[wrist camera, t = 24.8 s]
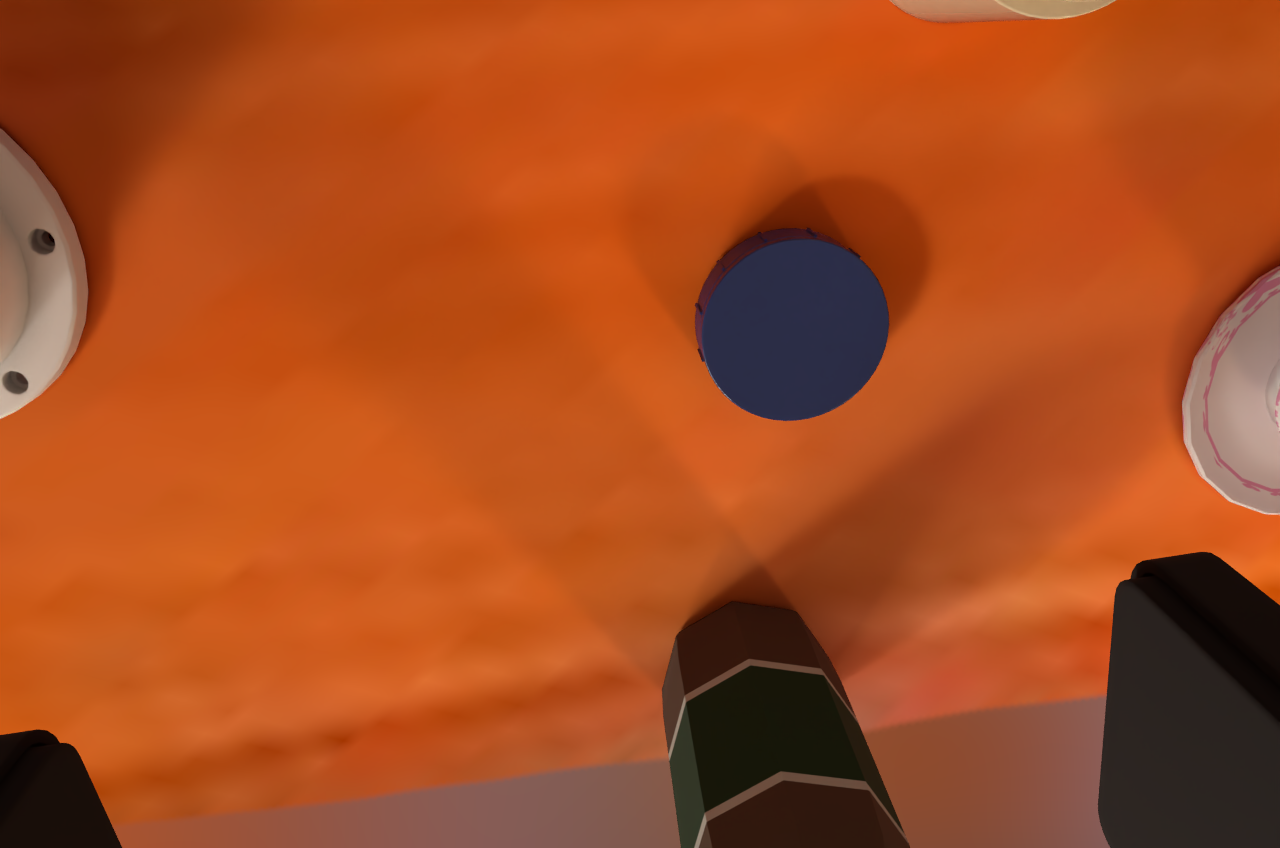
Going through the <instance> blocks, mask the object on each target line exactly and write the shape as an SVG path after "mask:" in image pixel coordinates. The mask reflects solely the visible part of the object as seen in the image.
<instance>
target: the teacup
mask: <svg viewBox="0 0 1280 848" xmlns="http://www.w3.org/2000/svg"><path fill="white" fill-rule="evenodd" d="M1182 414H1183V435H1184V443H1185V445H1186V448H1187V450H1188V452H1189V454H1190V456H1191V458H1192V461H1193V463H1194V465H1195V467H1196V469H1197V472H1198V474H1199V475H1200V476H1201V477H1202V478H1203V479H1204V480H1205V481H1206V482H1207V483H1209V484H1210V485H1211V486H1212V487H1213V488H1214V489H1215V490H1216V491H1218V492H1219V493H1220V494H1221V495H1222V496H1223V497H1224V498H1225V499H1227V500H1228V501H1230V502H1232V503H1235V504H1238V505H1241V506H1243V507H1246V508H1249V509H1252V510H1255V511H1258V512H1260V513H1263V514H1280V265H1279V266H1278V267H1276V268H1274V269H1273V270H1271V271H1269V272H1268V273H1266V274H1264V275H1262V276H1261V277H1259V278H1258V279H1257V280H1256V281H1255V282H1254V283H1253V284H1252V285H1251V286H1250V287H1248V288H1247V289H1246V290H1245V291H1244V292H1243V293H1242V294H1241V295H1240V296H1239V297H1238V298H1237V299H1236V300H1235V301H1234V302H1233V303H1232V304H1231V305H1230V306H1229V307H1228V308H1227V309H1226V310H1225V311H1224V312H1223V313H1222V314H1221V315H1220V316H1219V318H1218V320H1217V321H1216V323H1215V325H1214V326H1213V328H1212V330H1211V331H1210V333H1209V334H1208V336H1207V338H1206V339H1205V341H1204V343H1203V344H1202V346H1201V347H1200V349H1199V351H1198V352H1197V354H1196V356H1195V357H1194V360H1193V364H1192V367H1191V371H1190V374H1189V378H1188V382H1187V385H1186V389H1185V392H1184V396H1183V399H1182Z"/></svg>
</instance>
